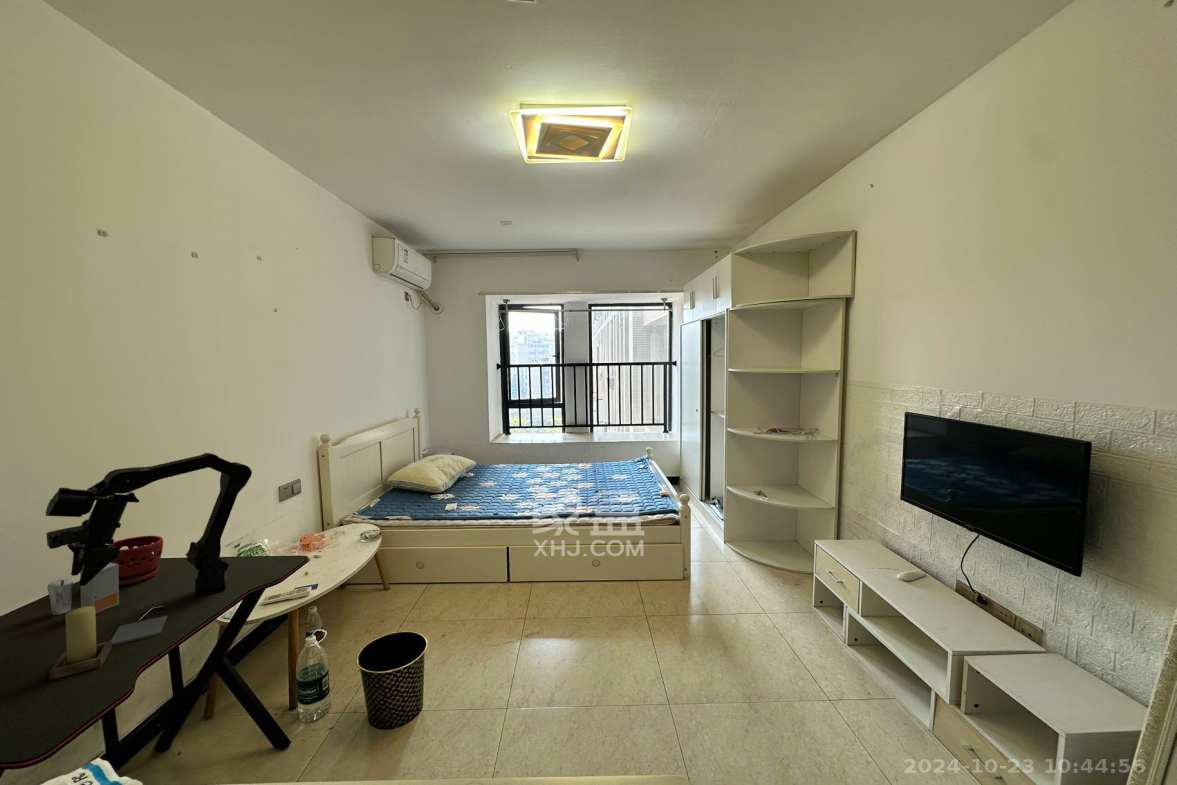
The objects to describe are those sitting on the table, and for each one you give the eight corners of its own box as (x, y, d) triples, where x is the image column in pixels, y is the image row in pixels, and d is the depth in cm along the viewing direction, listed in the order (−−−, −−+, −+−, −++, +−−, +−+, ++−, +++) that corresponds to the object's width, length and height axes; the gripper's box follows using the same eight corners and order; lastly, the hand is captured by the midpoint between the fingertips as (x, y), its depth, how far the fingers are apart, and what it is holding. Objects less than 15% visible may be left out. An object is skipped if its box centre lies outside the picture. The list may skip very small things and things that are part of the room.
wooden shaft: (99, 654, 102) (98, 604, 101) (93, 665, 98) (91, 613, 97) (71, 661, 99) (69, 609, 98) (63, 673, 95) (61, 619, 95)
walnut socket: (111, 648, 104) (111, 640, 104) (101, 666, 98) (100, 658, 98) (64, 660, 99) (63, 652, 99) (49, 680, 93) (49, 671, 93)
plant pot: (133, 589, 131) (132, 551, 130) (91, 587, 131) (89, 549, 130) (175, 569, 144) (174, 534, 143) (136, 568, 144) (135, 533, 143)
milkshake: (50, 619, 114) (49, 583, 114) (47, 613, 117) (45, 577, 117) (76, 611, 118) (75, 576, 118) (72, 605, 121) (71, 571, 121)
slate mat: (167, 617, 117) (167, 615, 117) (159, 634, 110) (159, 632, 110) (119, 628, 112) (119, 626, 112) (108, 646, 104) (108, 644, 104)
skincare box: (92, 615, 117) (90, 573, 116) (80, 613, 118) (79, 571, 117) (120, 604, 123) (119, 563, 122) (109, 602, 123) (107, 561, 123)
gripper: (51, 508, 110) (22, 572, 107) (66, 524, 100) (34, 594, 97) (112, 511, 119) (87, 569, 116) (131, 525, 109) (104, 590, 106)
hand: (78, 580), depth 108 cm, fingers open, 9 cm apart
